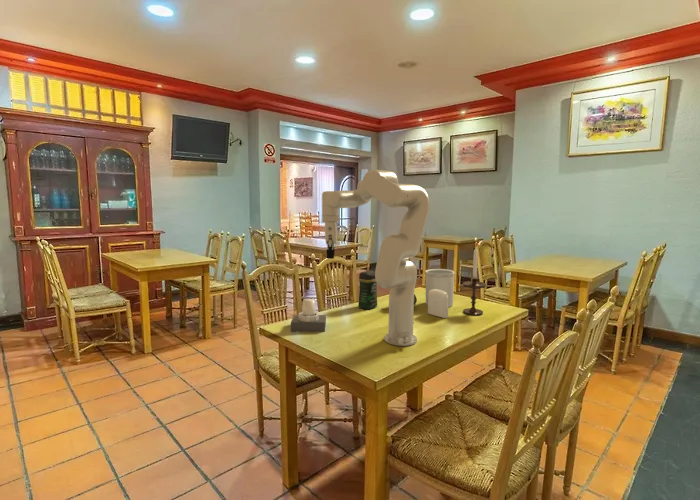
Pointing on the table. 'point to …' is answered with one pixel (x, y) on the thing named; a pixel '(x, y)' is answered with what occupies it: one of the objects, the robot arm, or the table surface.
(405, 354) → the table surface
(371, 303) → the coffee jar
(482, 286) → the candlestick
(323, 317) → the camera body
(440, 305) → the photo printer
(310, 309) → the white cylinder
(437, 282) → the utensil holder
